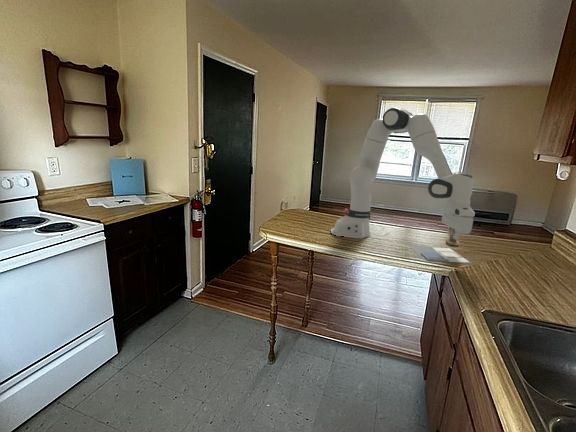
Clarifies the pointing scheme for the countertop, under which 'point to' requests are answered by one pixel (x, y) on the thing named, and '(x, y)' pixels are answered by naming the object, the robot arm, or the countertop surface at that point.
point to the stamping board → (439, 254)
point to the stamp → (452, 240)
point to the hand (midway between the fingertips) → (452, 237)
